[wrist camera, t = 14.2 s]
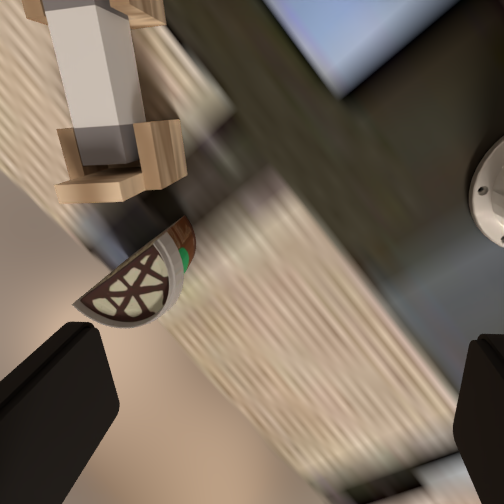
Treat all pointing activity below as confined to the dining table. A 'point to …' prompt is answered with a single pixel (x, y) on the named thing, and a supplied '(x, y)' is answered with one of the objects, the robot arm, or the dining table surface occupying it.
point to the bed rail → (98, 77)
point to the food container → (143, 281)
